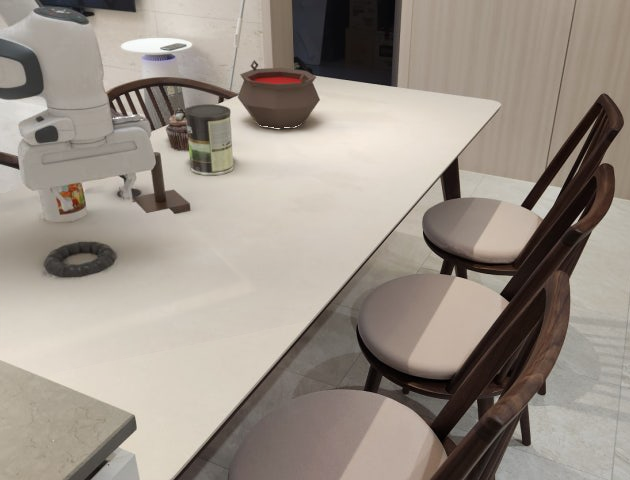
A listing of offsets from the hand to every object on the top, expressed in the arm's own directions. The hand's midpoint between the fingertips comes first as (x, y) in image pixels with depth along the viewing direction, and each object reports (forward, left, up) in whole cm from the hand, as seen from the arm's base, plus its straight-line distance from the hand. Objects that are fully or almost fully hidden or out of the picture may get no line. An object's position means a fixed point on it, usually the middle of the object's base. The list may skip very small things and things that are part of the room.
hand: (98, 203), depth 105 cm
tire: (-4, 0, -10) cm, 11 cm away
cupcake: (+36, +54, -11) cm, 66 cm away
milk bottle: (-2, +21, -11) cm, 24 cm away
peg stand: (+16, +19, -11) cm, 27 cm away
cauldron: (+68, +62, -11) cm, 93 cm away
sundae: (+13, +29, -11) cm, 34 cm away
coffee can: (+35, +35, -11) cm, 50 cm away
